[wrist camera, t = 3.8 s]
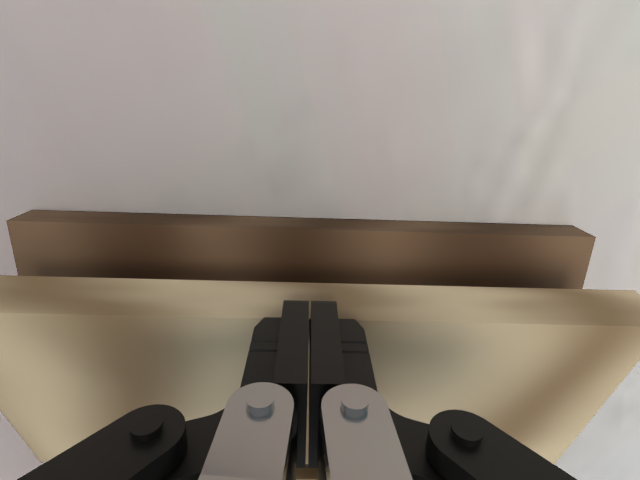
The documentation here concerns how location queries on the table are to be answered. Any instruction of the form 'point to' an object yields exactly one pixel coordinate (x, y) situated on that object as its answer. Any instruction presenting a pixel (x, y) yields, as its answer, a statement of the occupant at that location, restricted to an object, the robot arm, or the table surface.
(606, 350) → the oak plank
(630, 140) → the table surface
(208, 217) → the floor board
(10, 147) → the table surface
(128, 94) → the table surface
